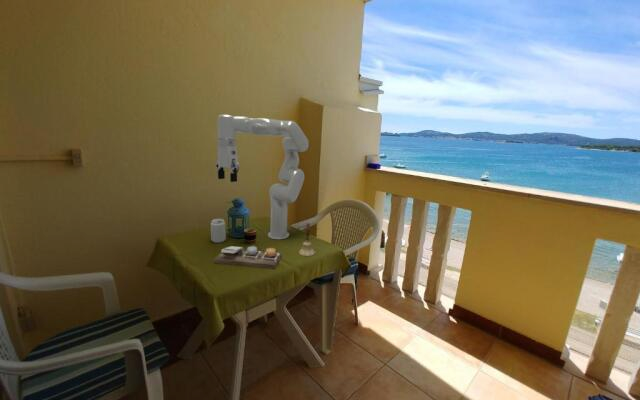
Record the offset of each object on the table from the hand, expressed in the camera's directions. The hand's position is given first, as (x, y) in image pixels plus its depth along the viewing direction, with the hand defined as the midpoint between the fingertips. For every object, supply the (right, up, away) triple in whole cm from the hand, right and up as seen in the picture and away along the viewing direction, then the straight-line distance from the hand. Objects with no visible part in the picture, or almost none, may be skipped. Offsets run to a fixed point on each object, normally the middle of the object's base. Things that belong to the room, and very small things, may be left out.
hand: (227, 180), depth 123 cm
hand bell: (+37, -37, +13) cm, 54 cm away
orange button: (+20, -35, 0) cm, 41 cm away
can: (-12, -32, +22) cm, 41 cm away
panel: (+10, -38, +2) cm, 39 cm away
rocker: (+2, -33, +1) cm, 33 cm away
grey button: (+11, -34, +1) cm, 36 cm away
